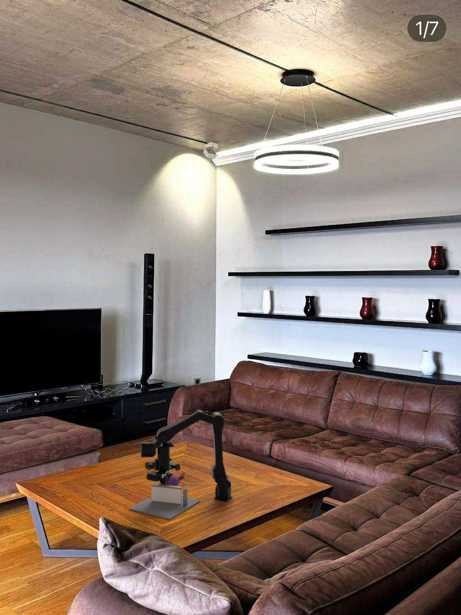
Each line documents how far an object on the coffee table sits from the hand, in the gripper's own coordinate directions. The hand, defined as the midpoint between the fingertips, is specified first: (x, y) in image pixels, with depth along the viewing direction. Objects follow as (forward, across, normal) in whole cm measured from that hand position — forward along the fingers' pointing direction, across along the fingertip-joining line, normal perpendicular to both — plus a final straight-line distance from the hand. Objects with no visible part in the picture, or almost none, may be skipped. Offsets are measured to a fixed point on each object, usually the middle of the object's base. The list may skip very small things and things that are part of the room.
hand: (163, 489), depth 271 cm
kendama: (+6, -23, -9) cm, 25 cm away
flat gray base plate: (+5, +4, +4) cm, 7 cm away
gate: (+4, +2, +3) cm, 6 cm away
